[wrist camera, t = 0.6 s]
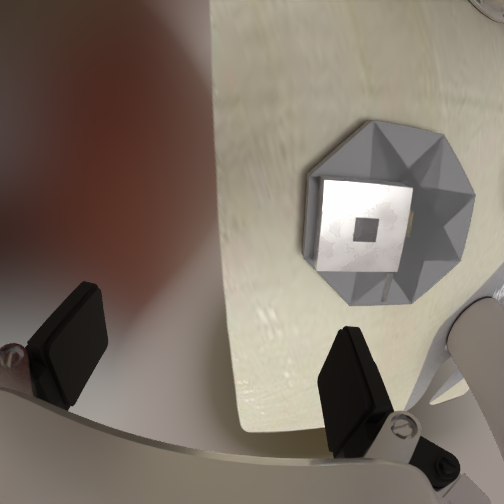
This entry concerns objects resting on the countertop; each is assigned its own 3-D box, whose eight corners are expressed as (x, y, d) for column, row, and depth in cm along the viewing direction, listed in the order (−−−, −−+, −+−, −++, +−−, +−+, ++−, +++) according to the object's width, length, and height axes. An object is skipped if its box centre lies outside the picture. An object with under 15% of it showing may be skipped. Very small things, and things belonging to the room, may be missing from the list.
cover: (402, 182, 26) (413, 188, 24) (389, 261, 30) (397, 272, 28) (319, 175, 27) (324, 180, 24) (312, 259, 30) (316, 271, 28)
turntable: (474, 143, 25) (481, 145, 23) (442, 295, 34) (447, 301, 32) (309, 114, 26) (311, 113, 24) (297, 298, 34) (298, 306, 33)
